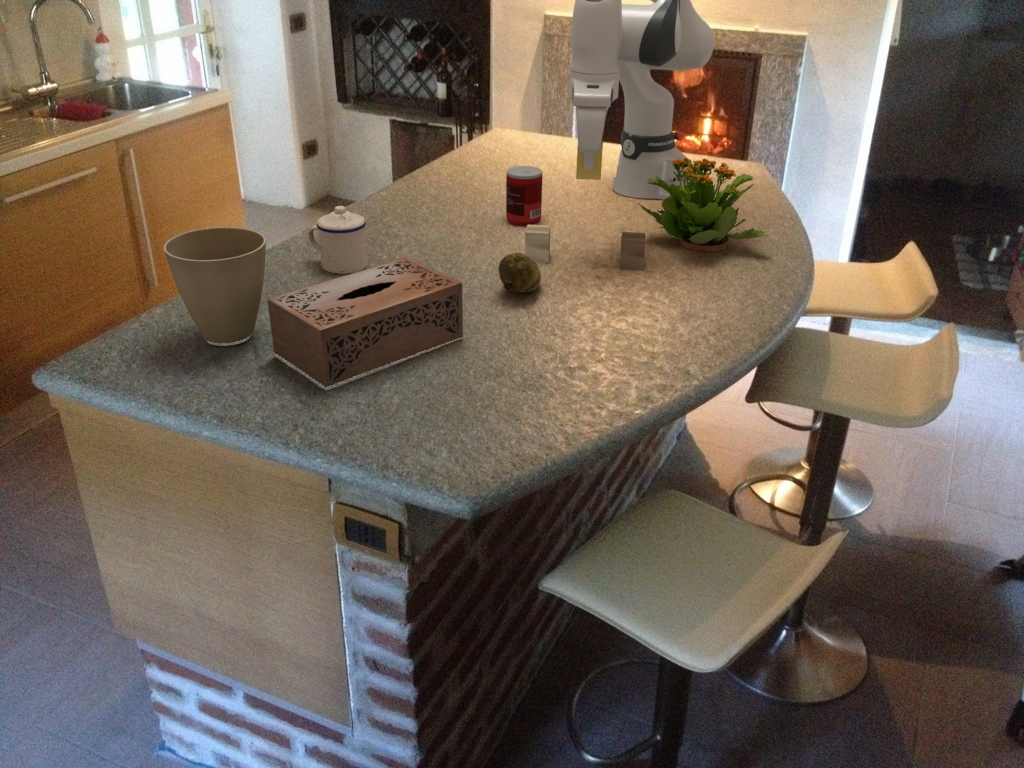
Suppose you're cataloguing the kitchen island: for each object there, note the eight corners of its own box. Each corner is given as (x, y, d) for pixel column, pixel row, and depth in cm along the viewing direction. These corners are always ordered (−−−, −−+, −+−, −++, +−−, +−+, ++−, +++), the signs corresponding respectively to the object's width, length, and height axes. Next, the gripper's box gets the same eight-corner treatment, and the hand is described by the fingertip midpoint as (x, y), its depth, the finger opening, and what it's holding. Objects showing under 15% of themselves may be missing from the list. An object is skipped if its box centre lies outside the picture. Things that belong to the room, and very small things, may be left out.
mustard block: (577, 172, 168) (578, 140, 165) (601, 173, 168) (603, 140, 165) (576, 178, 164) (577, 146, 161) (600, 179, 164) (602, 147, 161)
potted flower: (787, 246, 183) (802, 161, 175) (726, 277, 168) (739, 186, 160) (684, 217, 198) (693, 138, 190) (620, 244, 183) (626, 159, 174)
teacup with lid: (377, 261, 173) (373, 203, 167) (353, 278, 166) (348, 217, 160) (324, 252, 177) (318, 195, 171) (298, 268, 169) (291, 209, 164)
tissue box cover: (408, 312, 153) (405, 257, 149) (463, 340, 144) (462, 282, 139) (274, 358, 138) (267, 298, 133) (326, 393, 129) (320, 330, 124)
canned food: (542, 215, 198) (543, 166, 193) (539, 227, 191) (541, 176, 186) (508, 213, 199) (508, 164, 194) (504, 225, 192) (504, 175, 187)
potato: (557, 284, 164) (559, 242, 161) (524, 308, 155) (525, 265, 151) (518, 275, 168) (518, 234, 164) (483, 298, 158) (482, 256, 154)
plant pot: (227, 366, 135) (210, 267, 127) (161, 342, 142) (141, 247, 134) (297, 330, 146) (286, 237, 138) (232, 310, 153) (219, 220, 145)
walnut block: (619, 261, 175) (621, 231, 172) (642, 262, 175) (645, 232, 172) (619, 269, 171) (621, 239, 168) (643, 270, 171) (646, 240, 168)
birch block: (527, 253, 178) (527, 224, 175) (549, 254, 178) (550, 225, 175) (524, 261, 174) (525, 232, 171) (547, 263, 174) (548, 233, 171)
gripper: (578, 75, 168) (575, 149, 174) (572, 98, 150) (569, 179, 157) (612, 76, 167) (607, 150, 174) (610, 99, 149) (605, 180, 156)
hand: (589, 164), depth 165 cm, fingers closed on mustard block, 4 cm apart
